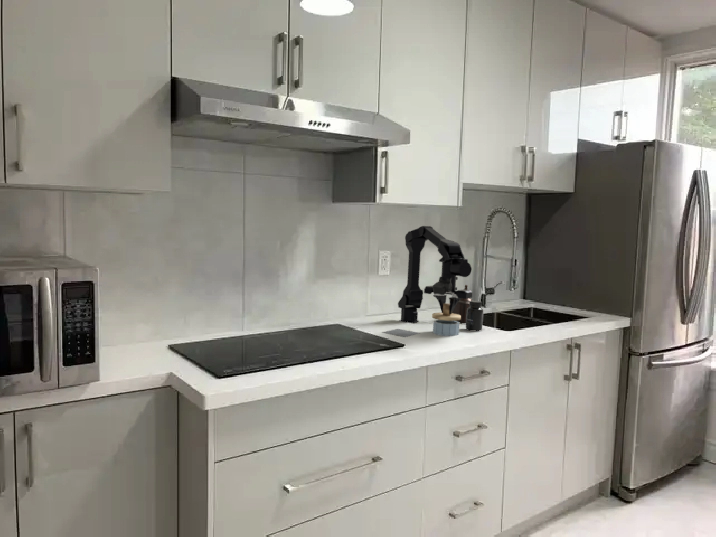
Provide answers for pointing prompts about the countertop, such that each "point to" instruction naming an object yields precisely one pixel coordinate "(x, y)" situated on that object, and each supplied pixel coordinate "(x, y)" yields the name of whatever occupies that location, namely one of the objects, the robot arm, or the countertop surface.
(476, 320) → the supplement bottle
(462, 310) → the manual coffee grinder
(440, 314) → the lid
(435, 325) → the bowl
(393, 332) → the mat
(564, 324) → the countertop surface
